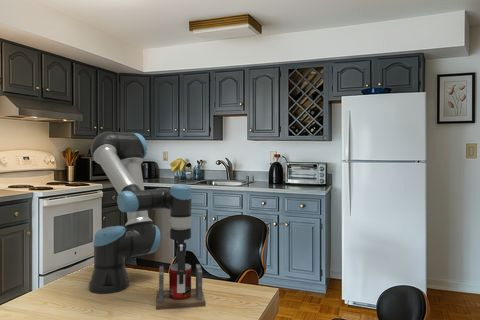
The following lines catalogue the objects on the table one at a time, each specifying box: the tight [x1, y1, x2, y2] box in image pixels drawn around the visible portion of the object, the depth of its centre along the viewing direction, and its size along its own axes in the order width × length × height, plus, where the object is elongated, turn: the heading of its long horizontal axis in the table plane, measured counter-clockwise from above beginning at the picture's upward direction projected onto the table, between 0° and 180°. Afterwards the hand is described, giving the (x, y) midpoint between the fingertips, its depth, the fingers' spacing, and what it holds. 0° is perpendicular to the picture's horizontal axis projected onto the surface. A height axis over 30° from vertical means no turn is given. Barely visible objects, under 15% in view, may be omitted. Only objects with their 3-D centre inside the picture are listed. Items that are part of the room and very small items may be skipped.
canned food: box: [168, 262, 192, 300], centre depth 139 cm, size 8×8×11 cm
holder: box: [155, 263, 206, 311], centre depth 139 cm, size 14×17×12 cm
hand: (180, 286), depth 139 cm, fingers open, 13 cm apart
